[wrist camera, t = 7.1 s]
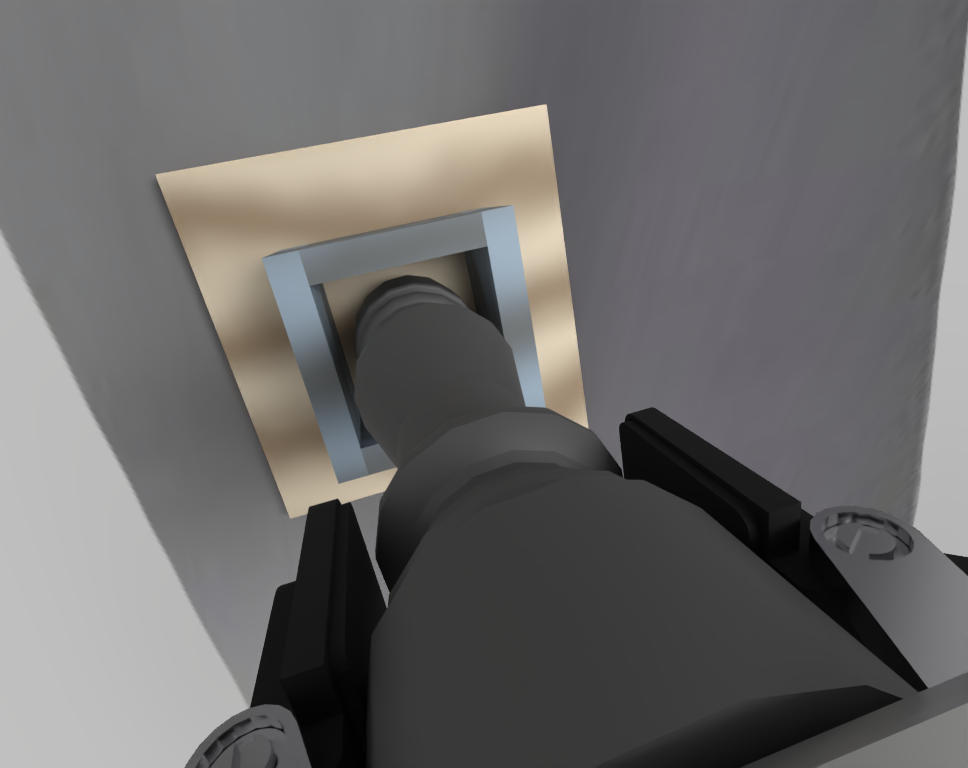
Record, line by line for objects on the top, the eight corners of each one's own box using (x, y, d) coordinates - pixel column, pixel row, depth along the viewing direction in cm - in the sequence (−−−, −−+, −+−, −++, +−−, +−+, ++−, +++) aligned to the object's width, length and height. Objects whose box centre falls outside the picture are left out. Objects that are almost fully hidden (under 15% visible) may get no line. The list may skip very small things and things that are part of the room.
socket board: (164, 176, 25) (94, 161, 18) (538, 108, 28) (594, 75, 22) (292, 508, 32) (275, 584, 25) (581, 424, 35) (633, 473, 29)
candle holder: (390, 405, 28) (530, 1217, 5) (331, 308, 26) (129, 1016, 3) (486, 353, 29) (1003, 903, 6) (437, 253, 26) (979, 504, 3)
